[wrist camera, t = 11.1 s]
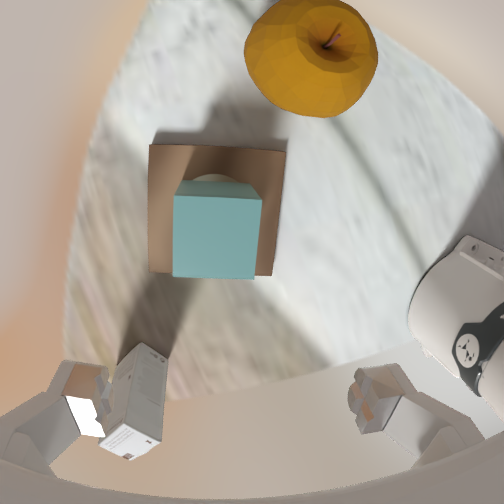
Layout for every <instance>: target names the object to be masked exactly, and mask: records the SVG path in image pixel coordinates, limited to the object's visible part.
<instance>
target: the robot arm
mask: <svg viewBox="0 0 504 504" xmlns="http://www.w3.org/2000/svg"><path fill="white" fill-rule="evenodd" d="M408 326H409V330H410V332H411V334H412V336H413V337H414V338H415V339H416V340H417V341H419V342H420V344H421V347H422V351H423V353H424V355H426V356H427V357H429V358H430V357H434V358H436V359H437V360H438V361H439V362H440V363H441V364H442V365H443V366H444V367H445V368H446V369H447V370H448V371H449V372H451V373H452V374H453V375H454V376H455V377H457V378H460V377H461V378H462V380H463V381H464V382H465V383H466V384H467V385H466V386H467V387H468V388H469V389H470V390H471V391H473V392H474V393H475V394H476V395H477V396H479V397H483V398H484V399H485V401H486V402H487V403H488V404H489V405H490V407H491V408H492V409H493V410H494V412H495V413H496V414H497V415H498V417H499V418H500V419H501V420H502V422H503V423H504V252H503V251H501V250H499V249H497V248H495V247H493V246H491V245H489V244H487V243H485V242H483V241H480V240H478V239H476V238H474V237H472V236H469V235H466V236H465V237H463V238H462V239H461V241H460V242H459V243H458V244H457V246H456V247H455V249H454V250H453V251H452V252H451V253H450V254H449V255H448V256H446V257H445V258H443V259H442V260H441V261H439V262H438V263H437V264H436V265H435V266H434V267H433V268H432V269H431V270H430V271H429V272H428V273H427V275H426V276H425V277H424V279H423V280H422V281H421V283H420V285H419V286H418V288H417V290H416V292H415V294H414V296H413V299H412V302H411V305H410V309H409V314H408ZM108 378H109V372H108V368H107V367H106V366H101V365H95V364H89V363H83V362H75V361H69V360H64V361H62V362H61V364H60V366H59V368H58V370H57V372H56V374H55V375H54V377H53V379H52V381H51V383H50V385H49V388H48V389H47V392H41V393H40V394H38V395H36V396H35V397H33V398H31V399H30V400H28V401H26V402H25V403H23V404H21V405H20V406H18V407H16V408H15V409H13V410H11V411H10V412H8V413H7V414H5V415H3V416H2V417H0V504H504V431H502V432H500V433H498V434H496V435H494V436H492V437H490V438H488V439H486V440H485V438H484V437H483V435H482V434H481V433H480V431H479V430H478V428H477V427H476V425H475V424H474V423H473V421H472V420H471V418H470V417H468V416H466V415H464V414H462V413H460V412H458V411H456V410H454V409H453V408H450V407H449V406H447V405H445V404H443V403H441V402H439V401H437V400H435V399H434V398H432V397H430V396H428V395H426V394H424V393H422V392H417V390H416V389H415V388H414V386H413V385H412V383H411V382H410V380H409V379H408V377H407V376H406V374H405V373H404V371H403V370H402V368H401V367H400V365H398V364H397V363H394V364H387V365H380V366H373V367H364V368H358V370H357V371H356V372H355V375H354V378H355V380H356V381H355V382H354V383H353V384H352V385H351V386H350V388H349V391H348V404H349V407H350V409H351V411H352V412H353V413H355V414H356V415H357V417H356V420H355V421H356V423H357V426H358V428H359V430H360V432H361V434H367V433H373V432H378V431H383V433H385V434H386V435H387V436H389V437H390V438H391V439H392V440H393V441H395V442H396V443H397V444H398V445H400V446H401V447H402V448H404V449H405V450H406V451H407V452H409V453H410V454H411V455H413V456H414V457H415V458H416V459H418V460H417V462H416V463H415V464H414V465H413V466H412V468H411V469H410V470H408V471H404V472H401V473H398V474H395V475H391V476H388V477H384V478H380V479H376V480H372V481H368V482H364V483H360V484H355V485H350V486H346V487H341V488H335V489H330V490H325V491H318V492H311V493H304V494H296V495H288V496H278V497H266V498H250V499H187V498H170V497H159V496H150V495H149V496H148V495H141V494H133V493H126V492H120V491H114V490H108V489H103V488H98V487H93V486H88V485H84V484H79V483H75V482H71V481H67V480H63V479H60V478H57V476H56V475H55V473H54V472H53V471H52V469H51V468H50V467H49V465H50V464H51V463H52V462H53V461H54V460H55V459H56V458H57V457H58V456H59V455H60V454H61V453H62V452H63V451H65V450H66V449H67V448H68V447H69V446H70V445H71V444H72V443H73V442H74V441H75V440H76V439H77V438H78V437H79V436H80V435H81V434H87V435H94V436H100V437H105V435H106V431H107V427H108V424H109V421H108V418H107V415H108V414H109V413H111V412H112V408H113V403H114V392H113V387H112V384H110V383H109V382H108Z"/></svg>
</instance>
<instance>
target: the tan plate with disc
mask: <svg viewBox="0 0 504 504" xmlns="http://www.w3.org/2000/svg"><path fill="white" fill-rule="evenodd" d="M285 157H286V152H283V151H274V150H263V149H251V148H238V147H222V146H203V145H173V144H151V145H149V163H148V259H149V272H160V273H173V203H174V194H175V192H176V190H177V188H178V186H179V184H180V183H181V181H182V180H194V181H216V182H234V183H249V184H251V186H252V187H253V188H254V190H255V191H256V192H257V194H258V195H259V196H260V198H261V199H262V207H261V217H260V227H259V237H258V246H257V256H256V266H255V275H254V276H272V270H273V262H274V254H275V246H276V237H277V229H278V220H279V212H280V203H281V194H282V185H283V176H284V166H285Z"/></svg>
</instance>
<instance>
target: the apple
mask: <svg viewBox="0 0 504 504" xmlns="http://www.w3.org/2000/svg"><path fill="white" fill-rule="evenodd" d="M244 57H245V62H246V66H247V69H248V72H249V75H250V77H251V78H252V80H253V81H254V83H255V84H256V86H257V87H258V88H259V90H260V91H261V92H262V93H263V95H264V96H265V97H266V98H267V99H268V100H269V101H270V102H271V103H273V104H275V105H276V106H278V107H280V108H281V109H284V110H287V111H290V112H292V113H295V114H298V115H302V116H311V117H320V118H326V117H334V116H337V115H339V114H341V113H343V112H344V111H346V110H348V109H349V108H350V107H351V106H353V105H354V104H355V103H356V102H357V101H358V100H359V99H360V98H361V96H362V95H363V93H364V92H365V90H366V89H367V87H368V86H369V84H370V82H371V80H372V78H373V76H374V74H375V71H376V67H377V64H378V51H377V47H376V42H375V39H374V36H373V34H372V32H371V30H370V27H369V25H368V24H367V23H366V21H365V20H364V19H363V18H362V16H361V15H360V14H359V13H358V11H357V10H355V9H354V8H353V7H351V6H350V5H348V4H346V3H344V2H342V1H340V0H280V1H279V2H277V3H276V4H275V5H273V6H272V7H271V8H270V9H269V10H268V11H267V12H266V13H265V14H263V15H262V16H261V17H260V18H259V19H258V20H257V21H256V23H255V24H254V25H253V27H252V29H251V31H250V33H249V35H248V37H247V39H246V42H245V47H244Z"/></svg>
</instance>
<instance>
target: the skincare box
mask: <svg viewBox="0 0 504 504" xmlns="http://www.w3.org/2000/svg"><path fill="white" fill-rule="evenodd" d="M167 371H168V359H166V358H165V357H163V356H162V355H161V354H159V353H158V352H156V351H155V350H153V349H152V348H150V347H149V346H147V345H146V344H144V343H142V342H141V343H139V344H138V345H137V346H136V347H134V348H133V349H132V350H131V351H130V352H129V353H128V354H127V355H126V356H125V357H124V358H123V360H122V361H121V362H120V363H119V364H118V365H117V367H116V369H115V373H114V377H113V380H112V387H113V392H114V403H113V408H112V412H111V413H109V414H108V415H107V418H108V421H109V424H108V427H107V431H106V435H105V437H100V438H99V442H98V445H99V446H101V447H103V448H104V449H106V450H109V451H111V452H113V453H115V454H117V455H119V456H121V457H124V458H126V459H128V460H133V459H135V458H136V457H138V456H140V455H143V454H145V453H147V452H148V451H149V450H150V449H151V448H153V447H154V446H156V445H157V444H159V443H160V442H161V441H162V428H163V415H164V402H165V391H166V381H167Z"/></svg>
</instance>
